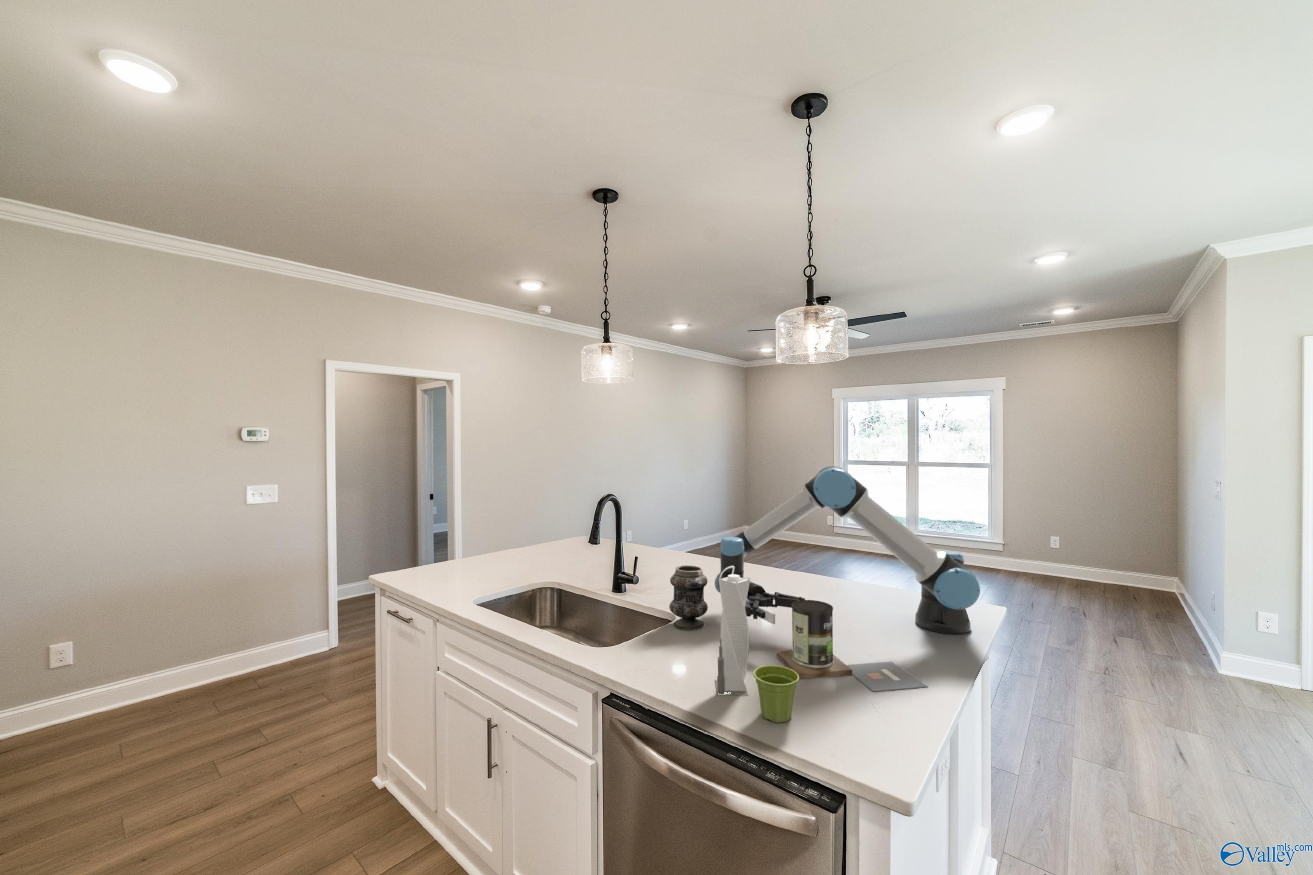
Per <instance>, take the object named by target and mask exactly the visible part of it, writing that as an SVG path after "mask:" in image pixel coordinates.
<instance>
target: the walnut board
mask: <svg viewBox="0 0 1313 875" xmlns="http://www.w3.org/2000/svg"><path fill="white" fill-rule="evenodd" d="M792 656H793V649H790V650H777V651H776V657H778V660H779V659H780V661H781V662H782V663H783V664H784V665H785V667H786V668H789V669H792V670H794V671H795V672H796V673H797V674H798V675H799V680H803V679H816V678H826V677H827V678H828V677H829V678H831V677H840V676H853V675H852V669H851V668H849V667H848V666H847V665H848V664H846V663H844V661H842V660H841V659H840V658H839V657H837V656H836V655H835V654H833V664H832V665H831V666H829V667H826V668H810V667H805V666H802V665H799V664H797V663H796V662H794V661H793V659H792Z"/></svg>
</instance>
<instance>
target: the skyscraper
mask: <svg viewBox="0 0 1313 875" xmlns="http://www.w3.org/2000/svg"><path fill="white" fill-rule="evenodd" d="M729 568H733V570H732V574H730V575H728V577H726V578H722V579H721V576H722V574H723V572H724V571H725V570H727V569H729ZM734 568H735V567H734V566H729V567H727V568H725V569H724V570H723V571H722V573H721V574H720V577H719V586H720V593H719V595H720V600H721V608H722V613H721V619H720V620H721V622H720V638H719V647H718V653H719V654H718V657H717V676H716V680H714V684H715V683H716V684H715V688H716V689H717V690H716V693H717V692H718V693H719V694H724V692H727V693H728V692H731V694H730V693H729V694H730V695H729V696H749V693H748V690H747V686H746V682H745V681H746V676H747V675H746V673H747V667H748V660H749V659H748V658H749V650H750V649H749V648H750V647H749V646H750V644H749V643H750V640H749V639H750V636H749V635H750V634H749V633H750V632H749V624H748V617H747V616H746V611H745V605H746V600H747V594H748V589H749V583H750V581H751V578H750V576H746V577H745V576H744V578H740V576H739V575H736V574H733V573H734Z"/></svg>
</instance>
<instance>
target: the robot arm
mask: <svg viewBox="0 0 1313 875" xmlns="http://www.w3.org/2000/svg"><path fill="white" fill-rule="evenodd" d="M825 507H827V508H829V509H831V510H832V511H833V512H834V513H835V514H836V515H838V516H839V517H840V518H845V519H846V518H849V519H850V520H851V521H852V522H854V523H855V524H856V525H857V526H859V527H860V528H861V529H862V530H863V531H864V532H866V533H867V534H868V535H870V537H872V538H873V539H874V540H875V541H877V542H878V543H879V544H880V545H882V546H883V547H884V548H885V549H886V550H887V551H889V553H891V554H892V555H893V556H894V557H895V558H897V559H898V560H899V561H901V562H902V563H903V564H904V565H905V566H907V567H908V568H909V569H910V570H911V571H912V572H913V573H914V574H915V580H916V582H918V583H919V584H920V587H921V590H920V591H921V595H920V597H921V599H920V601H919V604H918V607H917V611H916V613H915V619H914V620H915V623H917V624H916V625H917V626H919V627H921V628H924V629H926V630H928V631H932V632H936V633H940V634H941V633H942V634H953V635H961V634H962V635H963V634H968V633H969V632H970V631H971V620H970V619H969V618H970V617H969V614H968V612H967V609H968V608H970V607H972V606H973V605H974V604H976V603H977V601H978V600H979V597H980V594H981V586H980V584H979V581H978V579H977V576H976V575H975V574H973V572H971V571H969V570H968V569H966V567H964V564H965V560H964V556H963V554H961V553H958V552H950V551H944V550H943V551H941V550H934V549H933V548H932V547H931V546H930V545H929V544H927V542H926V541H924V540H923V539H921V538H920V537H919V536H918V535H916V533H914V532H913V531H912V530H911V529H909V528H908V527H906V526H905V525H904V524H903V523H901V521H899V520H898V519H896V518H895V517H894V515H892V514H890V513H889V512H888V511H887V510H886V509H884V508H883V507H882V506H881V505H879V504H878V503H877V502H876V501H875V500H873V499H872V498H871V497H870V496H869V491H868V488H867V487H865V486H864V485H863V484H862V483H860V482H859V481H858V480H857V479H856V478H854V477H853V476H852V475H851V474H850V473H849V472H848V471H846V470H845V469H844V468H842V467H840V466H834V465H831V466H826V467H824V468H822V469H821V470H820V471H819V472H818V473H816V475H815V476H814V477H813V478H811V479H809V481H807V482H806V483H805V484H803V487H802V490H800V491H798V492H797V493H796V494H795V495H793V496H791V497H790V498H789V499H787V500H786V501H784V502H783V503H781V504H779V505H778V506H777V507H776V508H774V509H772V510H771V511H770V512H769V513H767V514H765V515H764V516H762V517H761V518H760V519H758V520H757V521H756V522H754V523H753V524H751V525H750V526H748V527H747V528H746V529H744V530H742V531H741V532H739V533H738V534H737V535H734V536H725V537H722V538H721V540H720V547H719V551H720V554H719V555H720V572H719V573H718V574H717V575H716V577H715V579H714V588H715V589H716V591H717V592H718V593H719V594H720V586H719V577H720V574H721V573H722V571H723V570H724V569H725V568H727V567H729V566H734V567H735V568H734V573H733V574H736V575H739V576H740V578H744V577H745V576H744V573H745V571H744V569H745V568H744V566H745V562H744V561H745V558H746V557H747V556H748V555H750V554H751V553H753V552H755V551H756V549H758V548H760V547H761V546H763V545H764V544H767V542H769V541H770V540H771V539H773V538H775V537H776V536H779V535H780V534H781V533H782V532H784V531H785V530H786V529H788V528H789V527H791V526H793V525H794V524H796V523H797V522H799V521H800V520H801V519H803V518H805V517H806V516H807V515H809V514H810V513H812V512H813V511H815V510H817V509H821V510H823V508H825ZM732 570H733V568H729V569H727V570H725V571H724V572H723V574H722V576H721V579H722V578H726V577H728V575H730V574H732ZM799 600H806V598H804V597H802V596H795V595H790V594H784V593H780V592H777V591H775V592H774V594H773V593H769V592H766V590H765V589H764V587H763V586H761V585H760V584H757V583H755V582H753V581H751V580H750V583H749V589H748V594H747V600H746V605H745V611H746V616H747V618H748V617H751V616H752V618H753V620H758V618H759V619H762V620H764V621H765V622H767V623H770V624H771V625H775V624H776V613H775V612H773V611H771V610H768V609H766V608H769V607H770V608H778V607H783V608H790V609H792V603H793V602H795V601H799Z"/></svg>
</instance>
